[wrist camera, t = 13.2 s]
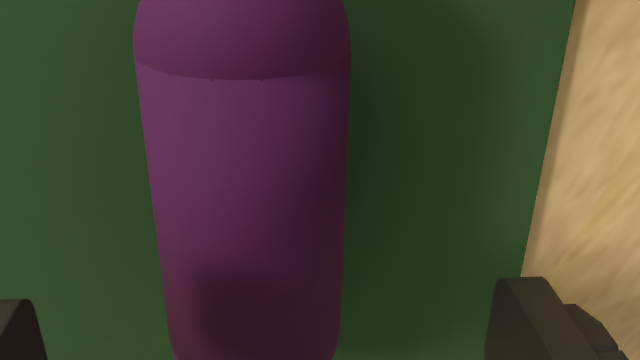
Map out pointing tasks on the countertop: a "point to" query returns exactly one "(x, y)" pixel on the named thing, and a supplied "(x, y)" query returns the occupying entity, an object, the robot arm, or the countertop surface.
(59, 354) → the cloth
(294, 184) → the eggplant
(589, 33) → the countertop surface
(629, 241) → the countertop surface
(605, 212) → the countertop surface
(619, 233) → the countertop surface
